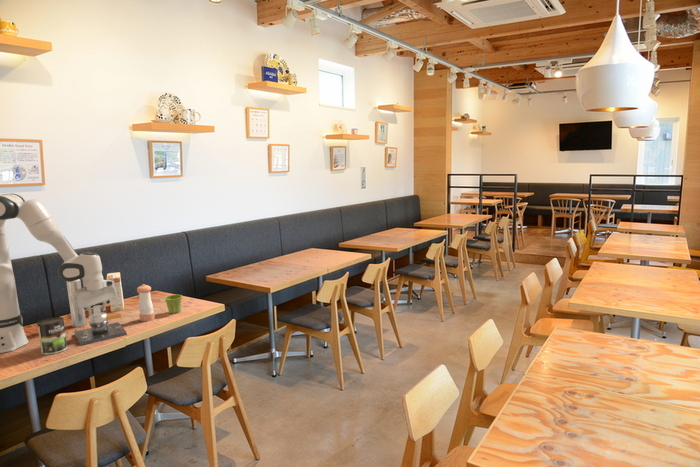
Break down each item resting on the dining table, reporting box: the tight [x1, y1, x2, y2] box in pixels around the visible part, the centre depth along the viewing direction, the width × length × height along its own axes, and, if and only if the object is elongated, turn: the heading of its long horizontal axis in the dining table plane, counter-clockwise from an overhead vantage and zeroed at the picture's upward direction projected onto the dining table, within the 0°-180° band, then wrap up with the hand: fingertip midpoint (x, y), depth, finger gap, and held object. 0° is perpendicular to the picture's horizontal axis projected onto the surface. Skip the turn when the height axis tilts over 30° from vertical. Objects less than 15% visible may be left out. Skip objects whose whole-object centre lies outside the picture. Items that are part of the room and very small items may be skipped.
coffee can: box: [36, 316, 68, 356], centre depth 215 cm, size 10×10×14 cm
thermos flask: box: [66, 279, 87, 328], centre depth 248 cm, size 6×6×25 cm
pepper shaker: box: [136, 283, 156, 322], centre depth 253 cm, size 7×7×19 cm
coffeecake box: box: [106, 271, 125, 313], centre depth 277 cm, size 15×7×20 cm, turn 25°
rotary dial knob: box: [88, 304, 122, 328], centre depth 234 cm, size 14×10×9 cm
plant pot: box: [163, 294, 183, 314], centre depth 264 cm, size 9×9×9 cm
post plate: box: [74, 321, 128, 346], centre depth 234 cm, size 20×19×5 cm
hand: (97, 312), depth 233 cm, fingers closed on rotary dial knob, 5 cm apart
